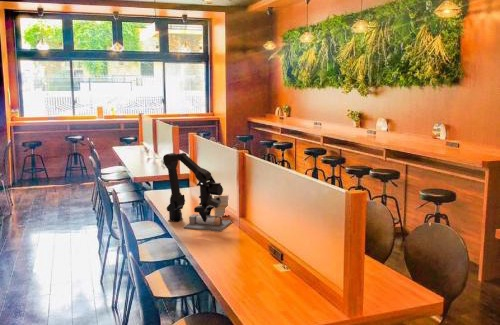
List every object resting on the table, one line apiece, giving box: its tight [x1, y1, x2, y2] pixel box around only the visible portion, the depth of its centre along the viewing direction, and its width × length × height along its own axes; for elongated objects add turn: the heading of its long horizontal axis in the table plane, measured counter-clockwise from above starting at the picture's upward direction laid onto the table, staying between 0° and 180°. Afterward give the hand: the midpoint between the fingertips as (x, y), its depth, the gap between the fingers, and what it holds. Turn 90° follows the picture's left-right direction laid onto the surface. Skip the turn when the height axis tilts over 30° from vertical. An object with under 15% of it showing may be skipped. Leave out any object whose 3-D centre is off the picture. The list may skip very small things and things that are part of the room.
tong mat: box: [183, 213, 233, 233], centre depth 279 cm, size 22×19×5 cm
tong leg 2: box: [197, 214, 223, 224], centre depth 280 cm, size 14×1×4 cm, turn 73°
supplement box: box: [213, 193, 229, 216], centre depth 297 cm, size 8×5×13 cm, turn 84°
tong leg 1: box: [196, 216, 220, 225], centre depth 277 cm, size 14×1×4 cm, turn 71°
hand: (206, 220), depth 279 cm, fingers open, 4 cm apart
